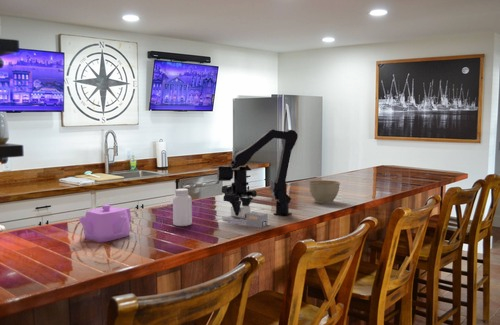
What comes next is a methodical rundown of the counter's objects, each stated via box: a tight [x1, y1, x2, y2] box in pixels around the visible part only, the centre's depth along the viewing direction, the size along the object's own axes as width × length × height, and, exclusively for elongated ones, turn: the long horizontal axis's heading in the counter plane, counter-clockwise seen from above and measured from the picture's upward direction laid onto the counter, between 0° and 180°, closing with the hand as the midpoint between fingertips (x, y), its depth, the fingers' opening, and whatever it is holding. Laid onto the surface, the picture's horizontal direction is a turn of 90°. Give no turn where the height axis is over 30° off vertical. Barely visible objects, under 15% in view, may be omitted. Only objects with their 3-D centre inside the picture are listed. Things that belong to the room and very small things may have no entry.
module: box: [230, 204, 251, 219], centre depth 222 cm, size 6×7×5 cm
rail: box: [217, 215, 270, 228], centre depth 208 cm, size 8×22×2 cm, turn 57°
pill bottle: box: [172, 188, 193, 227], centre depth 206 cm, size 8×8×15 cm
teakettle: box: [78, 204, 132, 243], centre depth 186 cm, size 17×17×12 cm
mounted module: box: [245, 211, 269, 228], centre depth 204 cm, size 6×7×5 cm
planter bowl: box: [308, 179, 341, 204], centre depth 256 cm, size 16×16×11 cm
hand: (240, 214), depth 222 cm, fingers closed on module, 5 cm apart
